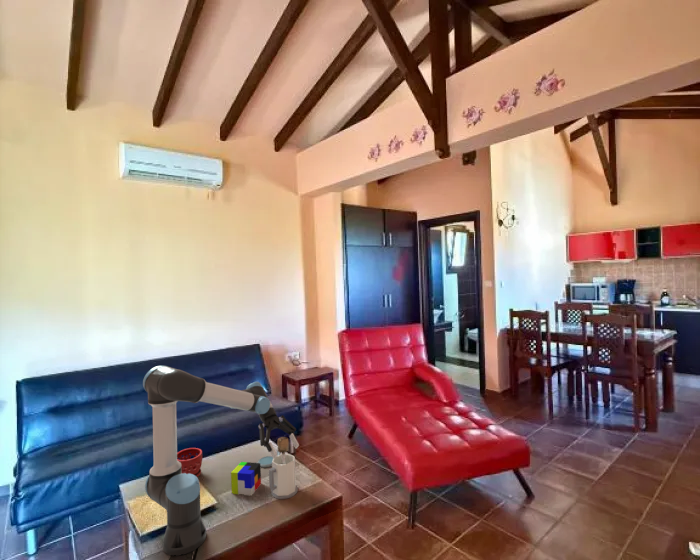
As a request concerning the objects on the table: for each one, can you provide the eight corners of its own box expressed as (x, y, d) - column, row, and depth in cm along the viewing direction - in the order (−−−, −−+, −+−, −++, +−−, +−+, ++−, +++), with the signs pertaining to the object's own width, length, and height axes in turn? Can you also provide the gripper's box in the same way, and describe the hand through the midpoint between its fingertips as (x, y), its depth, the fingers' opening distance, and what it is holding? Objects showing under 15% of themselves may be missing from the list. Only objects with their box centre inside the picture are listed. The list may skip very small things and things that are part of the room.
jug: (279, 504, 165) (278, 470, 165) (263, 493, 173) (262, 461, 173) (303, 490, 175) (301, 458, 175) (286, 481, 183) (285, 450, 183)
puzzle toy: (251, 495, 172) (250, 474, 172) (231, 493, 174) (230, 472, 174) (261, 483, 182) (260, 463, 182) (242, 482, 184) (241, 461, 184)
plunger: (282, 493, 169) (281, 444, 168) (272, 486, 174) (270, 439, 174) (296, 485, 175) (295, 438, 174) (285, 479, 180) (284, 434, 180)
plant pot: (169, 478, 189) (168, 455, 188) (194, 467, 199) (193, 445, 199) (183, 487, 181) (182, 462, 181) (208, 475, 191) (207, 451, 191)
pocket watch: (282, 445, 198) (252, 449, 194) (282, 465, 198) (253, 470, 195) (280, 437, 208) (252, 441, 204) (281, 457, 208) (253, 461, 204)
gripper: (282, 408, 193) (303, 446, 183) (241, 423, 175) (261, 466, 165) (289, 400, 190) (310, 438, 180) (247, 414, 172) (268, 458, 162)
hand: (286, 452), depth 172 cm, fingers open, 12 cm apart
